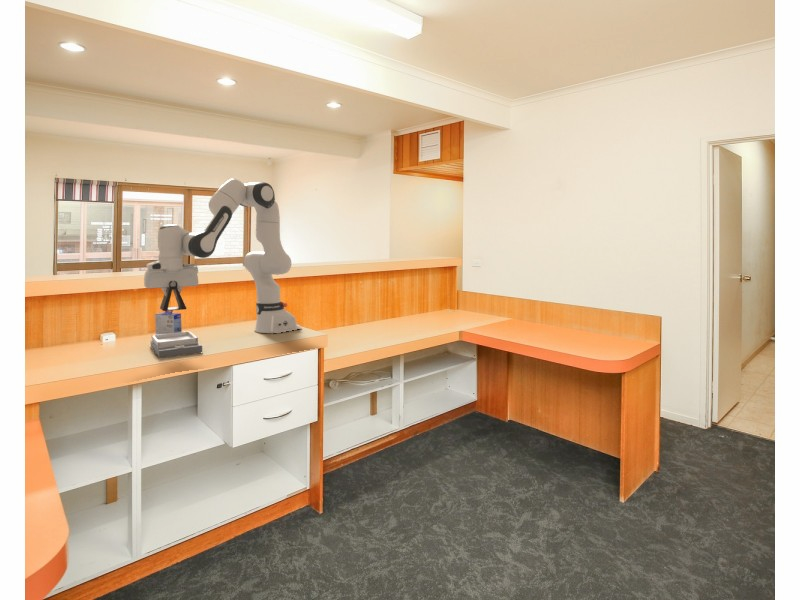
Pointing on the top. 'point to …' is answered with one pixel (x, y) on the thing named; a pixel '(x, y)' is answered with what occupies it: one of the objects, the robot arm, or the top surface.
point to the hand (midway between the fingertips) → (172, 297)
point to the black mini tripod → (167, 298)
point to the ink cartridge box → (168, 322)
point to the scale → (175, 344)
